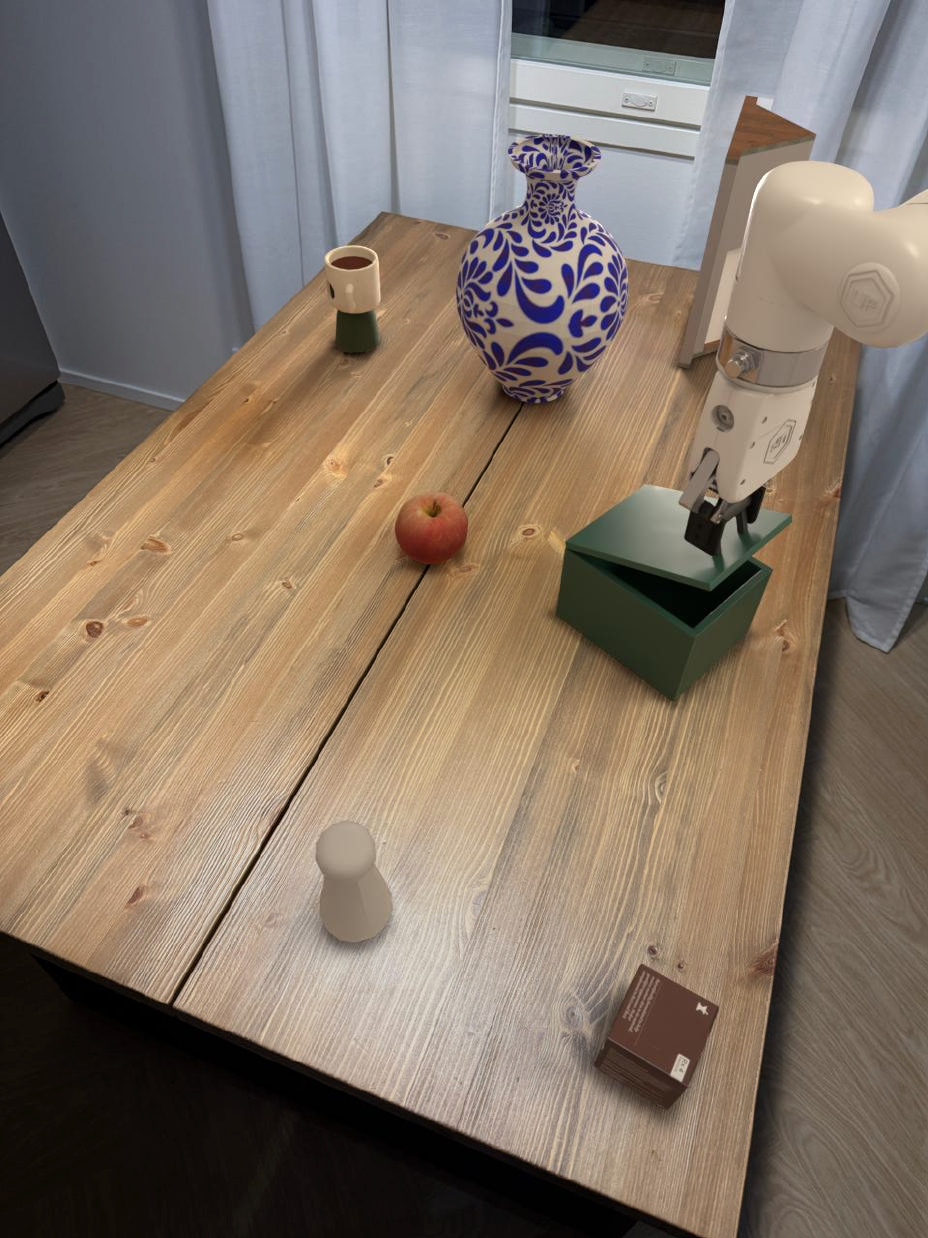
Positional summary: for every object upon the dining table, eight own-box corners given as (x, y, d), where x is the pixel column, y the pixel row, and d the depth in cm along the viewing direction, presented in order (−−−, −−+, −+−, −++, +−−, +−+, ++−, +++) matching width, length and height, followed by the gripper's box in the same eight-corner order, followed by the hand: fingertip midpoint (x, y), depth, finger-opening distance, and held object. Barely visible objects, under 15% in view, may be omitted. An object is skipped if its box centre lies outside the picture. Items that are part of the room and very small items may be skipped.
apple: (482, 545, 101) (484, 491, 95) (442, 588, 96) (442, 534, 90) (424, 517, 104) (423, 464, 98) (383, 558, 99) (379, 504, 93)
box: (625, 994, 69) (641, 959, 63) (699, 1037, 67) (722, 1005, 61) (591, 1067, 65) (605, 1037, 60) (667, 1114, 63) (689, 1088, 58)
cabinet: (699, 293, 138) (745, 95, 117) (762, 304, 136) (821, 105, 115) (678, 366, 125) (725, 157, 104) (747, 379, 123) (810, 169, 102)
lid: (792, 521, 81) (790, 472, 78) (710, 591, 75) (705, 540, 72) (646, 490, 92) (640, 446, 90) (566, 548, 87) (556, 503, 84)
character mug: (337, 323, 130) (328, 237, 121) (386, 325, 130) (381, 238, 121) (328, 366, 123) (319, 277, 114) (380, 367, 123) (374, 279, 114)
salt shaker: (342, 873, 75) (327, 795, 65) (404, 897, 74) (398, 821, 64) (309, 937, 71) (288, 864, 61) (374, 964, 70) (363, 894, 60)
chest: (747, 634, 93) (773, 569, 85) (673, 702, 87) (694, 638, 80) (630, 556, 100) (645, 490, 93) (555, 614, 94) (564, 548, 87)
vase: (606, 441, 114) (647, 205, 91) (440, 420, 116) (440, 184, 93) (617, 349, 127) (655, 124, 105) (469, 332, 130) (475, 108, 107)
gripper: (748, 417, 60) (696, 601, 73) (876, 325, 68) (808, 507, 81) (659, 372, 64) (625, 556, 77) (790, 290, 72) (739, 469, 85)
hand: (720, 529), depth 79 cm, fingers closed on lid, 5 cm apart
